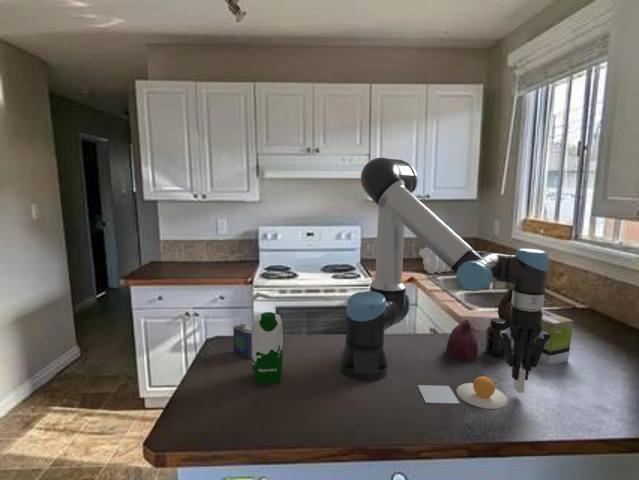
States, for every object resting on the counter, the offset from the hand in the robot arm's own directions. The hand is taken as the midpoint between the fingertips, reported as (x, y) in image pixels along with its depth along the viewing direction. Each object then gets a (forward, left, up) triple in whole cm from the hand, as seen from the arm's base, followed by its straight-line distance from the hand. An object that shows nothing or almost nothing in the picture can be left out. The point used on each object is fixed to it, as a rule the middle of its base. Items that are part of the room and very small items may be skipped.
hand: (518, 390), depth 109 cm
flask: (-80, +22, -2) cm, 83 cm away
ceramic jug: (+25, +51, -2) cm, 57 cm away
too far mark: (-22, 0, -2) cm, 22 cm away
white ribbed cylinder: (+25, +156, -2) cm, 158 cm away
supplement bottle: (+6, +28, -2) cm, 29 cm away
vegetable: (-6, +27, -2) cm, 28 cm away
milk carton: (-70, +7, -2) cm, 70 cm away
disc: (-10, 0, -2) cm, 10 cm away
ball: (-10, 0, +1) cm, 10 cm away
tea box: (+21, +28, -2) cm, 35 cm away
